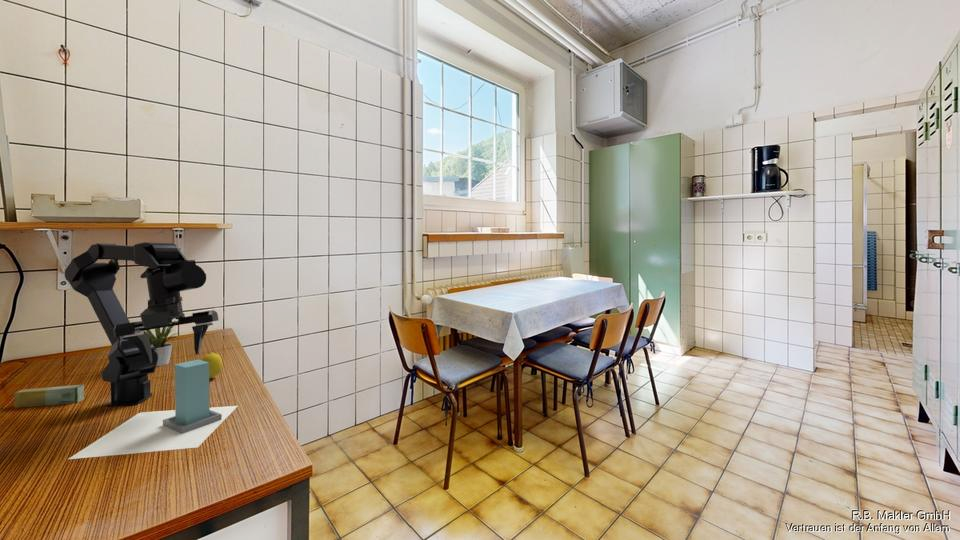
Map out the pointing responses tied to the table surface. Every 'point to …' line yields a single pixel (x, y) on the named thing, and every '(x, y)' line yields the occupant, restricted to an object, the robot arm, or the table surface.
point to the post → (191, 392)
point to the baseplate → (150, 435)
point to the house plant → (162, 344)
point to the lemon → (213, 363)
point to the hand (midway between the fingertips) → (174, 358)
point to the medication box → (49, 396)
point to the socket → (182, 429)
